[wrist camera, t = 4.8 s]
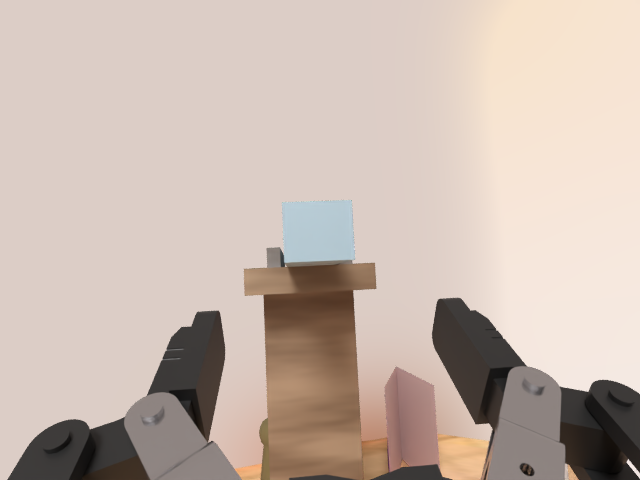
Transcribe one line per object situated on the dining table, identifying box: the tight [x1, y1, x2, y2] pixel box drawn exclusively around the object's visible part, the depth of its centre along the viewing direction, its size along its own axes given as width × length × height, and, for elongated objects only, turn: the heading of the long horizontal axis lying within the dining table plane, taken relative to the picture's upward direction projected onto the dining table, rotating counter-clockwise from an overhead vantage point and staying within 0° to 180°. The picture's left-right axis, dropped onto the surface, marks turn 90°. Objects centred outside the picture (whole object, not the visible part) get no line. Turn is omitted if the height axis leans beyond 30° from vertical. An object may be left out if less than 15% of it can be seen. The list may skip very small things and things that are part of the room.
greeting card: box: [385, 367, 440, 472], centre depth 55 cm, size 11×7×15 cm, turn 160°
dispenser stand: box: [244, 248, 376, 480], centre depth 35 cm, size 18×12×34 cm, turn 4°
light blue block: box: [282, 200, 355, 267], centre depth 30 cm, size 24×4×3 cm, turn 4°
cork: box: [259, 418, 270, 480], centre depth 52 cm, size 6×6×11 cm
